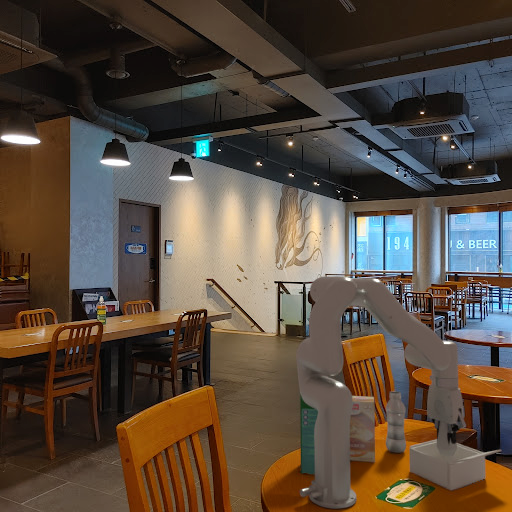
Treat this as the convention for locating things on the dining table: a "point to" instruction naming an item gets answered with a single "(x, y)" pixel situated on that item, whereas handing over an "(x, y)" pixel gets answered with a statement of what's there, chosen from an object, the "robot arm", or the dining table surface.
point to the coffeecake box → (362, 429)
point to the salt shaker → (445, 441)
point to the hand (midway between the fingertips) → (446, 443)
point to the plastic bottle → (395, 423)
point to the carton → (446, 465)
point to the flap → (477, 456)
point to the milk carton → (307, 437)
